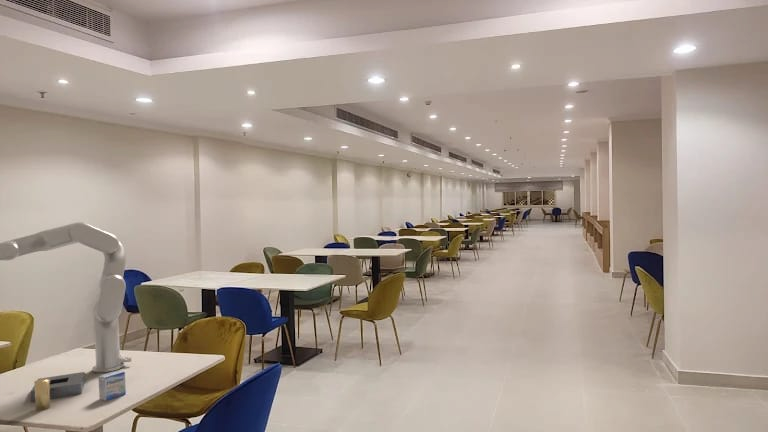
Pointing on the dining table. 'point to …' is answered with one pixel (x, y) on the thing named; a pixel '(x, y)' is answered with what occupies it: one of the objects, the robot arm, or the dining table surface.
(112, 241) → the robot arm
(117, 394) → the medicine box
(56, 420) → the dining table surface
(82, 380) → the socket block
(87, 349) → the dining table surface
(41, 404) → the brass peg
